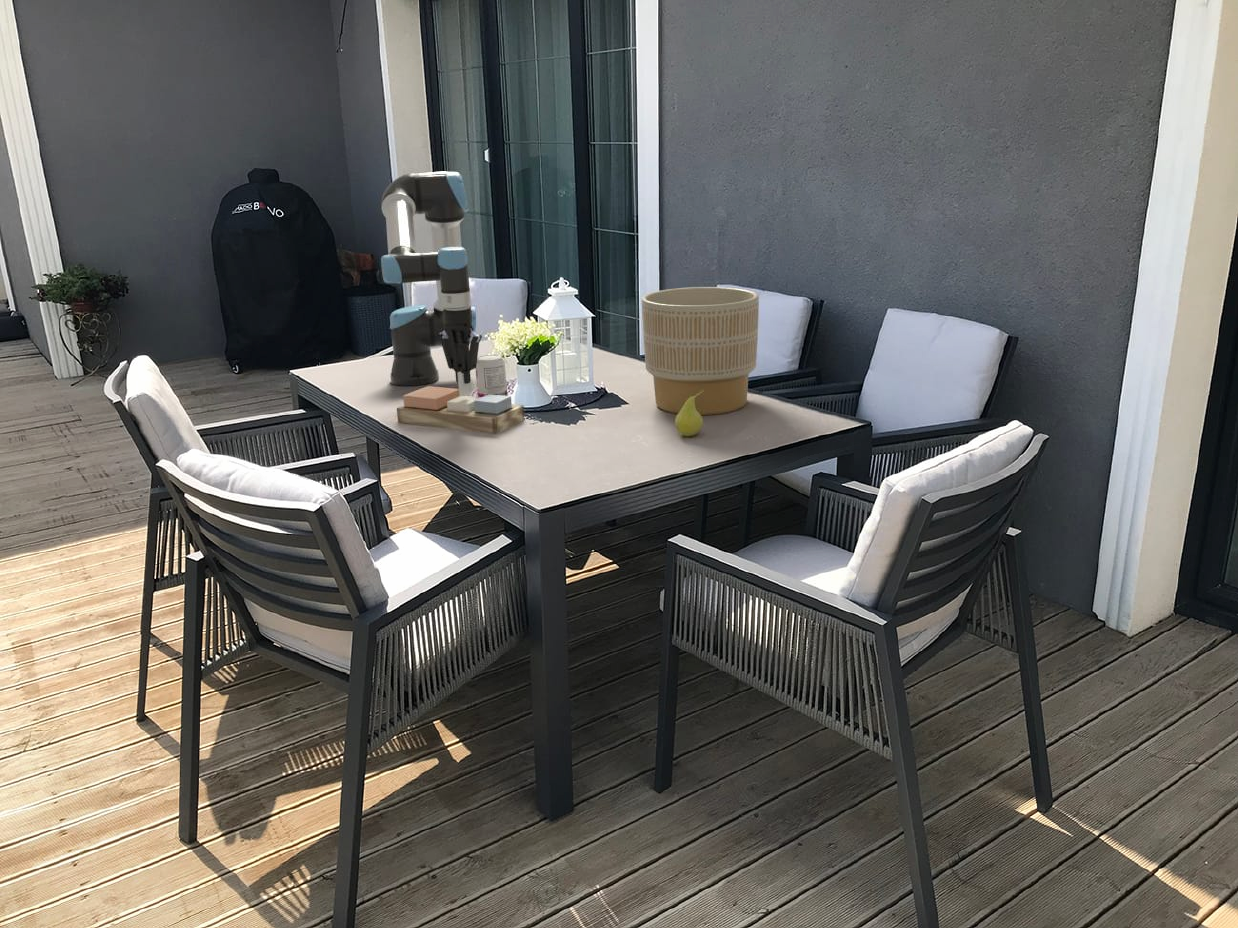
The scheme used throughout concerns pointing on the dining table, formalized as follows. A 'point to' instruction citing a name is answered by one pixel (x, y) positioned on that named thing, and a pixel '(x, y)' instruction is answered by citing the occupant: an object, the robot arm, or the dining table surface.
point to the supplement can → (491, 376)
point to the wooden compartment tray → (462, 419)
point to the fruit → (689, 418)
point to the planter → (701, 346)
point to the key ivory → (462, 404)
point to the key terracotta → (430, 398)
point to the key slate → (493, 404)
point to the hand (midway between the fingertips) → (464, 394)
